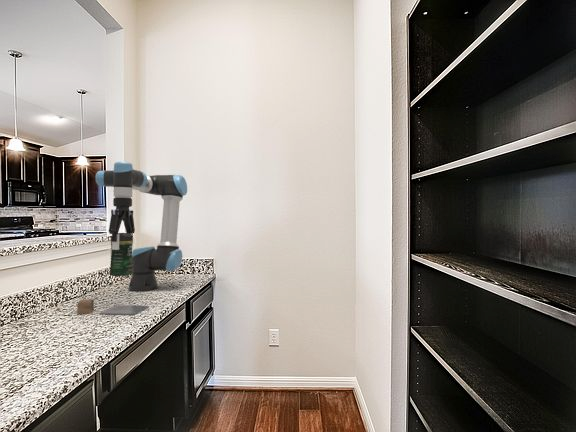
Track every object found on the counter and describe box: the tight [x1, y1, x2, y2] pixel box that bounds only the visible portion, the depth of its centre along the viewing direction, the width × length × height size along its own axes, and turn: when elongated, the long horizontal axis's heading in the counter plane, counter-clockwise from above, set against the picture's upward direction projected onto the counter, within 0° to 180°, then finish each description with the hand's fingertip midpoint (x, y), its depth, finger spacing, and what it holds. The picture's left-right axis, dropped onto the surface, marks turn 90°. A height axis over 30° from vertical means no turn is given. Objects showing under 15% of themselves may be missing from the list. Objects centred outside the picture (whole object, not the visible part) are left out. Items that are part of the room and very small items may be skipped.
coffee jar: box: [109, 232, 134, 277], centre depth 159 cm, size 10×8×19 cm
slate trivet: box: [99, 304, 150, 316], centre depth 156 cm, size 13×15×1 cm
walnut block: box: [76, 298, 95, 316], centre depth 154 cm, size 5×5×5 cm
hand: (122, 248), depth 160 cm, fingers closed on coffee jar, 9 cm apart
